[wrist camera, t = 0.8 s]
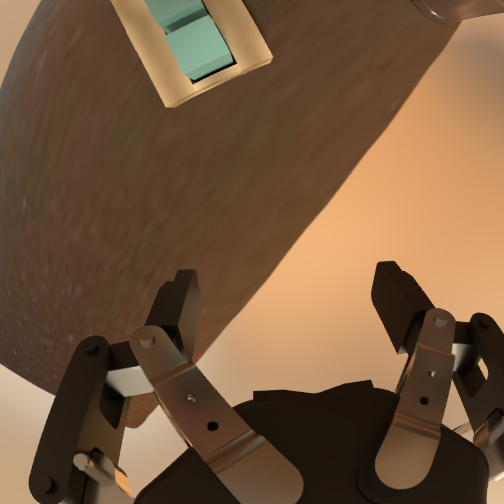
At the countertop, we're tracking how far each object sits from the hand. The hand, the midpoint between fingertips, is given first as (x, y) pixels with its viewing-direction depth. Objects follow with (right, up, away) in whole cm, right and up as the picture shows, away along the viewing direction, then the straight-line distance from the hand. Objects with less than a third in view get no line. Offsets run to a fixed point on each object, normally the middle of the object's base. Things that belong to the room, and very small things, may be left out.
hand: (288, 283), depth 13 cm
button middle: (-9, +27, +10) cm, 30 cm away
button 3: (-6, +22, +13) cm, 26 cm away
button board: (-9, +28, +12) cm, 32 cm away
